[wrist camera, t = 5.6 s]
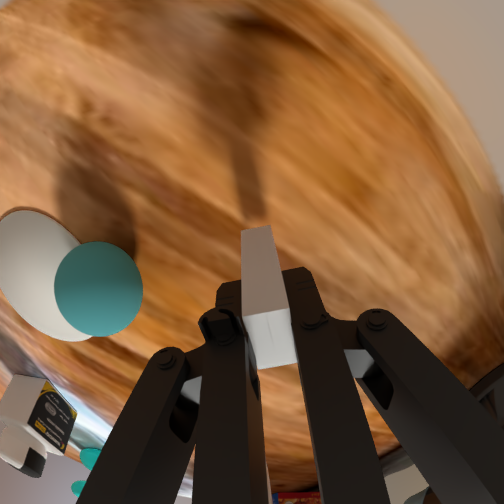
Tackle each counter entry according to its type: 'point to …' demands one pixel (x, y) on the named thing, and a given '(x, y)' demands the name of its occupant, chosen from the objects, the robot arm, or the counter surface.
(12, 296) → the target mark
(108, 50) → the counter surface
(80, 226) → the counter surface
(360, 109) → the counter surface
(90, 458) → the donuts
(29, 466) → the medicine bottle
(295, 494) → the pasta box
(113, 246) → the ball
